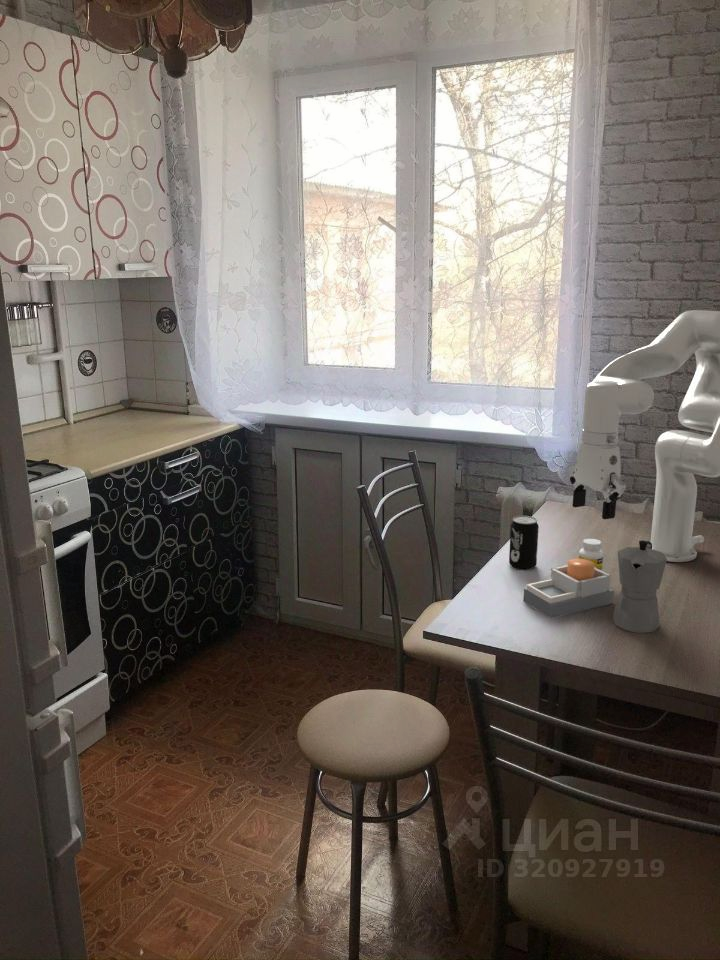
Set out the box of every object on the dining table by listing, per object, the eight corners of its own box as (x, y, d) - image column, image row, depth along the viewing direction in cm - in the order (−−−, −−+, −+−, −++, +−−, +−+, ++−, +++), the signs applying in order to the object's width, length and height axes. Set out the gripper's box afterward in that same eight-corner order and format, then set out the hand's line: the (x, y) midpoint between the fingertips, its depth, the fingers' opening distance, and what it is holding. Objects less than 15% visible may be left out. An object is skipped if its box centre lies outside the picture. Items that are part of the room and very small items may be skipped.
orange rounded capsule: (581, 578, 174) (582, 557, 172) (598, 587, 169) (600, 565, 168) (561, 583, 172) (562, 561, 170) (578, 592, 167) (579, 570, 165)
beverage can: (536, 571, 187) (539, 524, 183) (508, 570, 188) (510, 522, 185) (536, 561, 193) (538, 515, 190) (509, 560, 194) (511, 514, 191)
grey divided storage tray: (582, 587, 178) (584, 560, 176) (612, 603, 169) (615, 575, 167) (523, 600, 171) (524, 573, 169) (551, 618, 162) (553, 589, 161)
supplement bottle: (598, 587, 177) (601, 547, 175) (574, 583, 180) (577, 543, 177) (603, 579, 182) (606, 539, 179) (579, 575, 184) (582, 536, 182)
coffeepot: (654, 641, 152) (663, 555, 147) (605, 631, 156) (612, 547, 151) (666, 611, 165) (674, 531, 160) (620, 602, 169) (627, 524, 164)
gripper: (641, 444, 166) (633, 521, 170) (585, 429, 181) (580, 500, 185) (614, 447, 163) (607, 525, 167) (560, 432, 178) (555, 504, 182)
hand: (593, 512), depth 176 cm, fingers open, 9 cm apart
